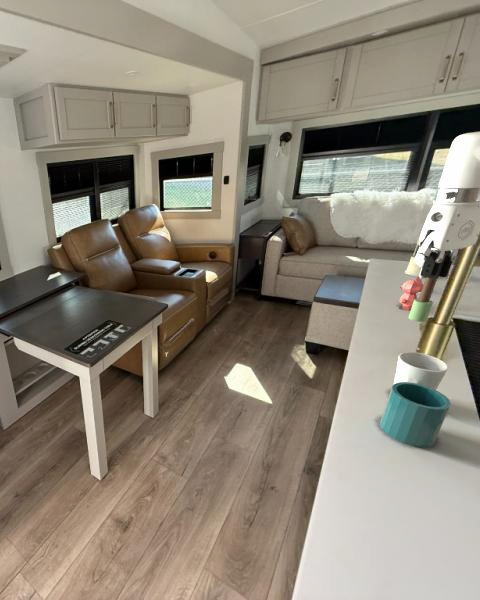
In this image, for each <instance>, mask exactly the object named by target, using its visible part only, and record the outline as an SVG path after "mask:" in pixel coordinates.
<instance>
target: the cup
mask: <svg viewBox="0 0 480 600" xmlns="http://www.w3.org/2000/svg"><path fill="white" fill-rule="evenodd" d="M448 370H449V365H448V364H447V363H446V362H445V361H443V360H442V359H440V358H438V357H436V356H433V355H430V354H426V353H422V352H416V351H405V352H401V353H399V354H398V358H397V364H396V371H395V375H394V380H393V385H394V384H396V383H399V382H410V383H416V384H421V385H424V386H427V387H430V388H432V389H434V390H436V391H437V389H438V387H439V385H440V384H441V382H442V380H443V379H444V377H445V375H446V373H447V371H448ZM393 385H392V386H393Z"/></svg>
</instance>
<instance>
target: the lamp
mask: <svg viewBox="0 0 480 600" xmlns="http://www.w3.org/2000/svg"><path fill="white" fill-rule="evenodd" d="M426 215H427V216H426V219H427V217H428V215H429V212H427V213H426ZM426 219H425V220H426ZM422 229H423V227H422V228H421V230H420V234H419V237H418V239H417V240H416V241H415V243H416V246H415V249H414V252H413V254H412V255H411V257H410V260H409V263H408V265H407V268H406V270H405V271H404V274H406V275H408V276H411V277H416V278H418V276H419V274H420V271H421V267H419V266H418V265H417V264H416V262H415V260H414V259H415V257H416V254H417V252H418V249H419V248H420V246H419V239H420V235H421V232H422ZM418 247H419V248H418Z"/></svg>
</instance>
